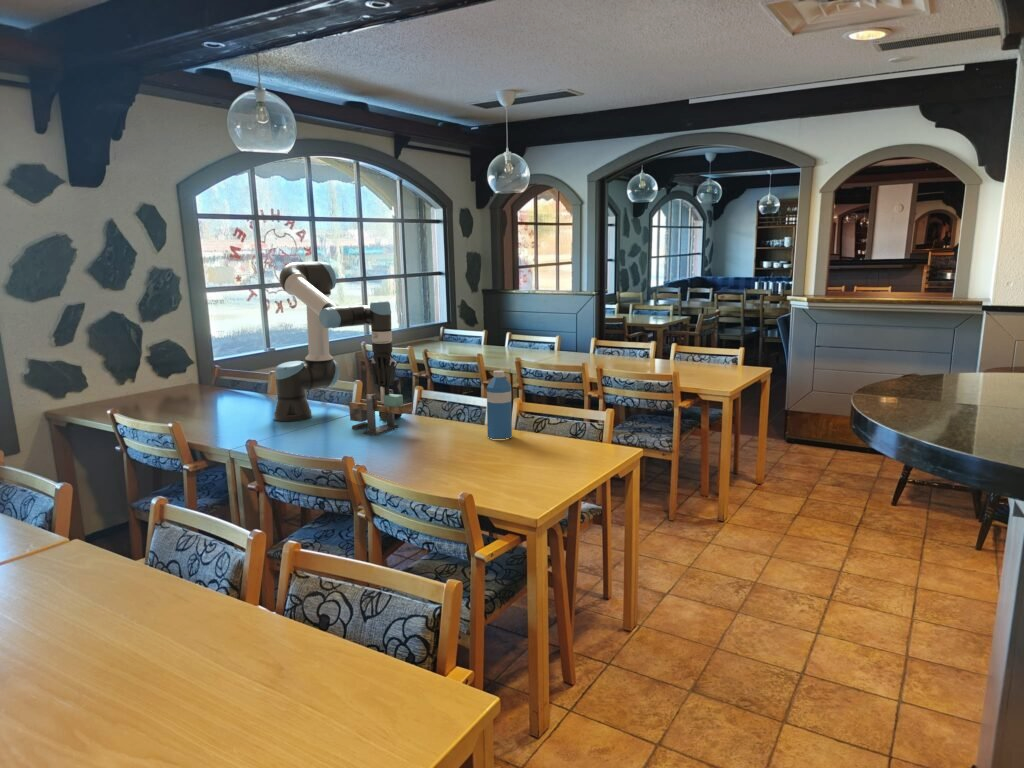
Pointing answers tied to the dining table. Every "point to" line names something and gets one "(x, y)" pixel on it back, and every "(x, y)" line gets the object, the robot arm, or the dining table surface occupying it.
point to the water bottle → (499, 407)
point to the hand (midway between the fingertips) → (384, 402)
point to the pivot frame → (372, 422)
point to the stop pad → (360, 425)
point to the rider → (393, 400)
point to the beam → (360, 409)
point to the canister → (396, 390)
